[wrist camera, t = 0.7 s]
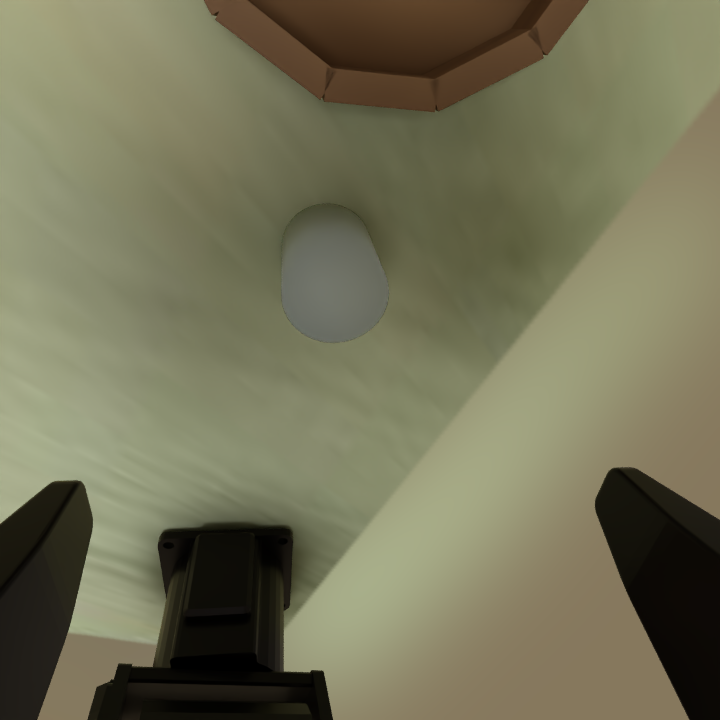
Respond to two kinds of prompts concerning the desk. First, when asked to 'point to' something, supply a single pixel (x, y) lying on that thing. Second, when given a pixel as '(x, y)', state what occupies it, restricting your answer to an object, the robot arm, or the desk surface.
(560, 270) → the desk surface
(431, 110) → the walnut tray
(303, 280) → the bead loose
